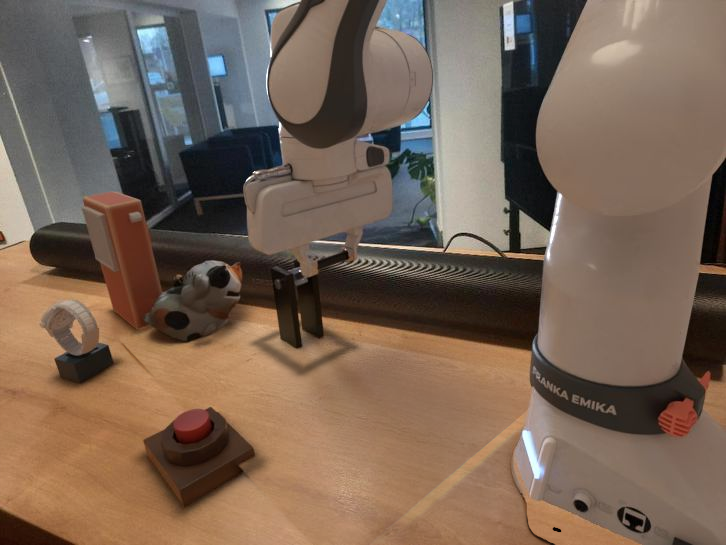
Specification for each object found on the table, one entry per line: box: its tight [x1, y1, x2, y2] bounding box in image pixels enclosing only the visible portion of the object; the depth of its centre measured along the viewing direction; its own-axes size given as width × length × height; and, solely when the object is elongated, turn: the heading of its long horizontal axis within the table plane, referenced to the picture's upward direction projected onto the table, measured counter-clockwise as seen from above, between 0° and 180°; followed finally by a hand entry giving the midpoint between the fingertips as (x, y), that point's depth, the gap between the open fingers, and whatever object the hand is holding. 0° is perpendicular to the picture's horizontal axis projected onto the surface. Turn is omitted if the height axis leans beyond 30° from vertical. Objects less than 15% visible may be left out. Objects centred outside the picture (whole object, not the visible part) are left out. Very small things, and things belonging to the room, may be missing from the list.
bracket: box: [270, 258, 325, 350], centre depth 73 cm, size 12×9×13 cm
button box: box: [142, 406, 256, 508], centre depth 53 cm, size 10×8×4 cm
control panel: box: [81, 190, 163, 330], centre depth 85 cm, size 21×7×15 cm
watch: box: [39, 298, 115, 384], centre depth 70 cm, size 6×8×11 cm
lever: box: [288, 251, 347, 288], centre depth 67 cm, size 12×5×2 cm, turn 42°
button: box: [173, 408, 212, 444], centre depth 52 cm, size 4×4×2 cm
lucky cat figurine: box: [143, 260, 243, 342], centre depth 81 cm, size 15×12×14 cm
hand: (330, 267), depth 63 cm, fingers closed on lever, 5 cm apart
